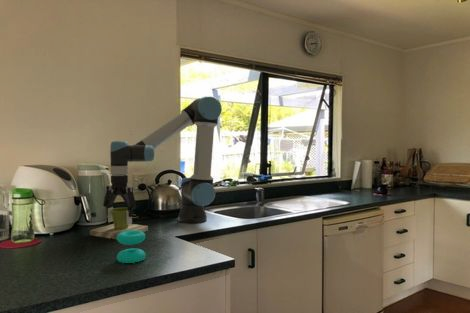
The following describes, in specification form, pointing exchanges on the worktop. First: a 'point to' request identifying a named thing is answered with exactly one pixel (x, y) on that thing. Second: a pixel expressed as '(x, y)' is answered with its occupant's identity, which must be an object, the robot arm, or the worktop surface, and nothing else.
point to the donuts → (133, 253)
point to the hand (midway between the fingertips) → (119, 222)
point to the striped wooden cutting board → (115, 230)
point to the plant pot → (119, 218)
